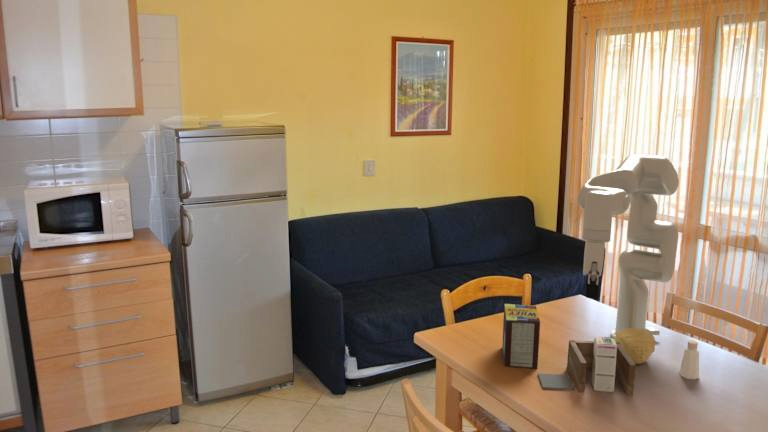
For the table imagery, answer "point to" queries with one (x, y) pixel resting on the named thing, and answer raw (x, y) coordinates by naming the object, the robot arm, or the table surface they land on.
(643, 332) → the sculpture
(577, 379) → the wooden u-shaped stand
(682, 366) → the salt shaker
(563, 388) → the mat
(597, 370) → the syrup box
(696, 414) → the table surface
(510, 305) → the protein box
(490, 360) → the table surface
